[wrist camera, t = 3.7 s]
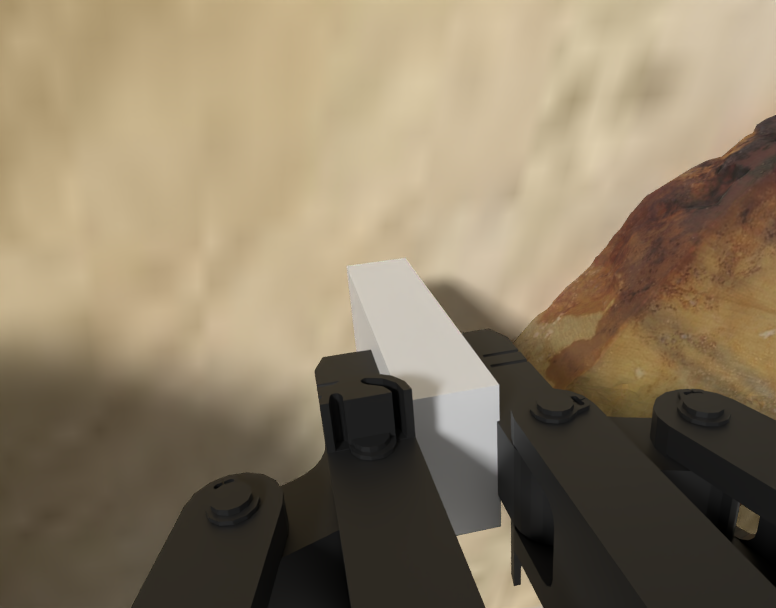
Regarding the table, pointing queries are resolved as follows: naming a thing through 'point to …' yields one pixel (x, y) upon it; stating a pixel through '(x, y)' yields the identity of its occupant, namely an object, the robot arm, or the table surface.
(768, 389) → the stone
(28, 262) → the table surface
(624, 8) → the table surface
